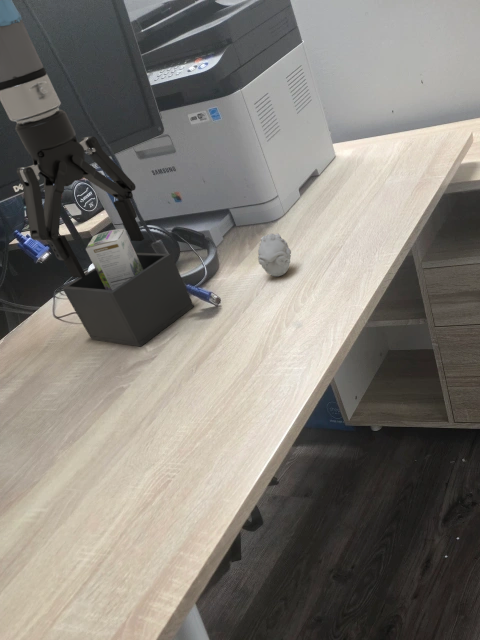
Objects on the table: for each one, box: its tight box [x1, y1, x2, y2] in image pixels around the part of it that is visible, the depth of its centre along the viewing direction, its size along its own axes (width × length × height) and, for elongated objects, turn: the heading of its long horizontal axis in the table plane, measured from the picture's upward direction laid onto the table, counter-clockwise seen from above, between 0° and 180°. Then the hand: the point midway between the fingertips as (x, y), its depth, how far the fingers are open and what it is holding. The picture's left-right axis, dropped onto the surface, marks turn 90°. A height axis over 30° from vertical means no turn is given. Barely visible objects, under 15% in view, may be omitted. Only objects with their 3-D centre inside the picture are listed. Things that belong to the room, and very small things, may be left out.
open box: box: [62, 252, 195, 348], centre depth 113 cm, size 14×14×10 cm
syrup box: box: [85, 228, 143, 290], centre depth 112 cm, size 6×6×14 cm
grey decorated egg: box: [257, 233, 292, 277], centre depth 117 cm, size 6×7×7 cm
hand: (109, 257), depth 109 cm, fingers open, 13 cm apart
